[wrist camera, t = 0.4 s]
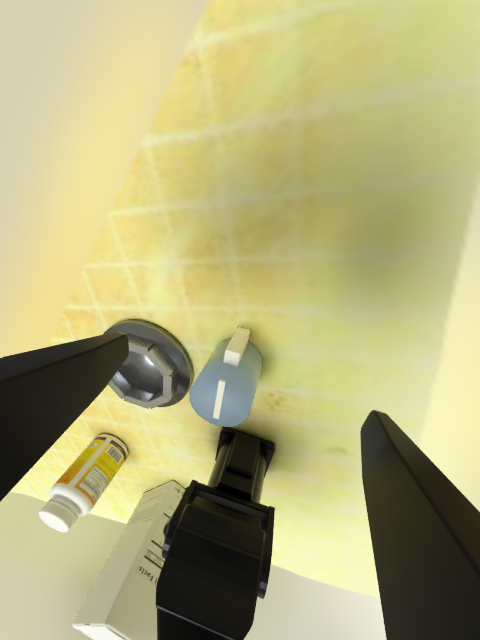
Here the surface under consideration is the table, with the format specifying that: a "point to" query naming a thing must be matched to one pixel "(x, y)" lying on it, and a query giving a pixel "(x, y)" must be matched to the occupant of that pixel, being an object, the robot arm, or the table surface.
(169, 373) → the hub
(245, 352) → the knob
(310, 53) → the table surface
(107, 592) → the supplement box
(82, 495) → the supplement bottle
